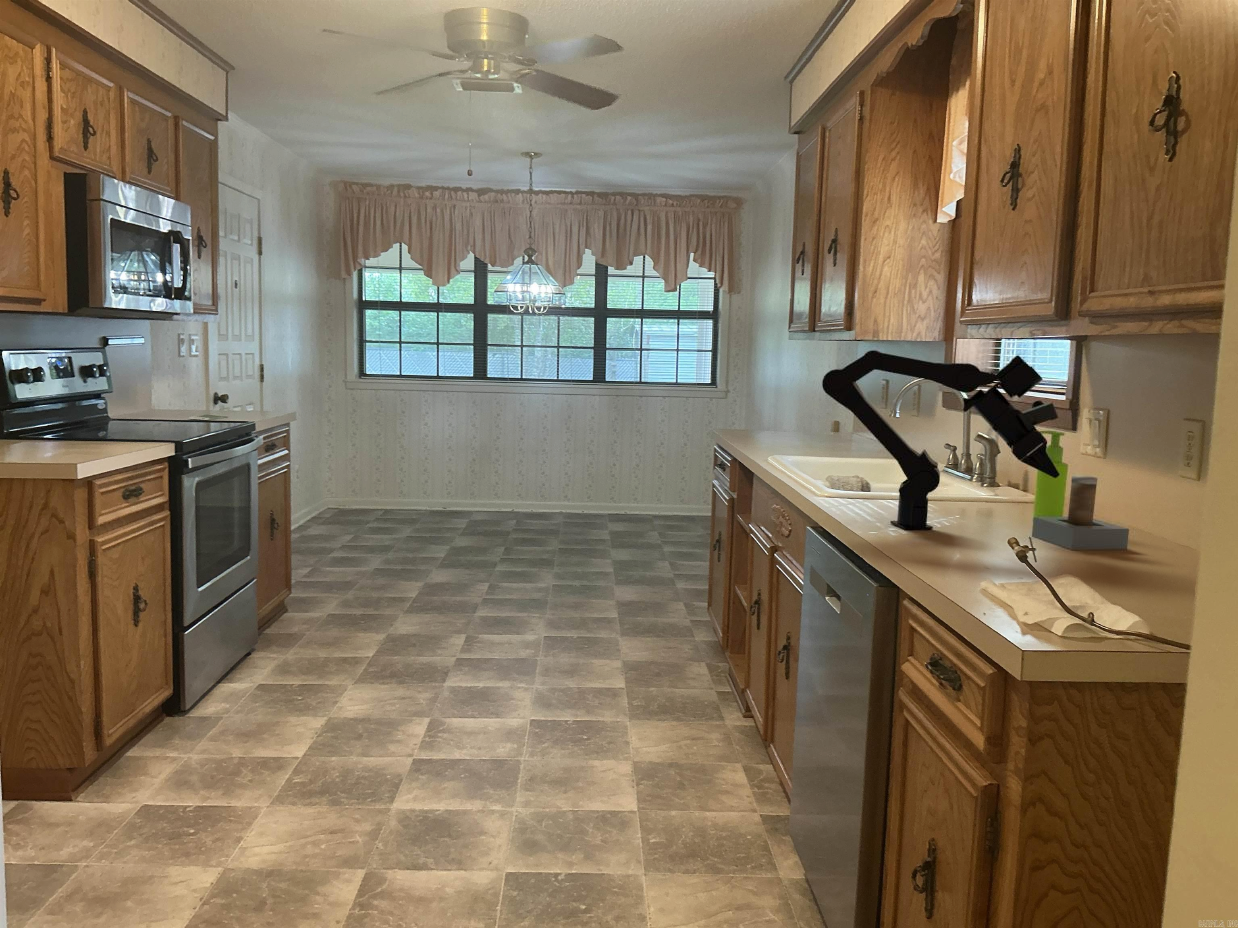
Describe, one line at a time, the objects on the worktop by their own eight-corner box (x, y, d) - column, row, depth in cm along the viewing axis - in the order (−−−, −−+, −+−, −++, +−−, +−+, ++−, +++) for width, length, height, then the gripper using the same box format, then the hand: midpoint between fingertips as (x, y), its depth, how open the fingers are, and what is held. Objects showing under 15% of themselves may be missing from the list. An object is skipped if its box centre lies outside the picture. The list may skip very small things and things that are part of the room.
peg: (1061, 541, 182) (1067, 476, 180) (1071, 539, 185) (1078, 474, 183) (1084, 546, 179) (1091, 479, 177) (1094, 543, 182) (1101, 478, 180)
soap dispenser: (1038, 518, 207) (1047, 429, 204) (1067, 523, 201) (1077, 432, 199) (1022, 520, 204) (1031, 429, 201) (1051, 526, 198) (1061, 433, 196)
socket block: (1031, 536, 187) (1033, 516, 186) (1084, 535, 189) (1086, 516, 188) (1071, 549, 175) (1073, 529, 174) (1126, 549, 177) (1129, 528, 177)
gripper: (1038, 388, 173) (1097, 452, 171) (1030, 385, 190) (1084, 442, 188) (988, 428, 176) (1046, 490, 174) (985, 420, 194) (1037, 477, 192)
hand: (1055, 473), depth 182 cm, fingers open, 9 cm apart
